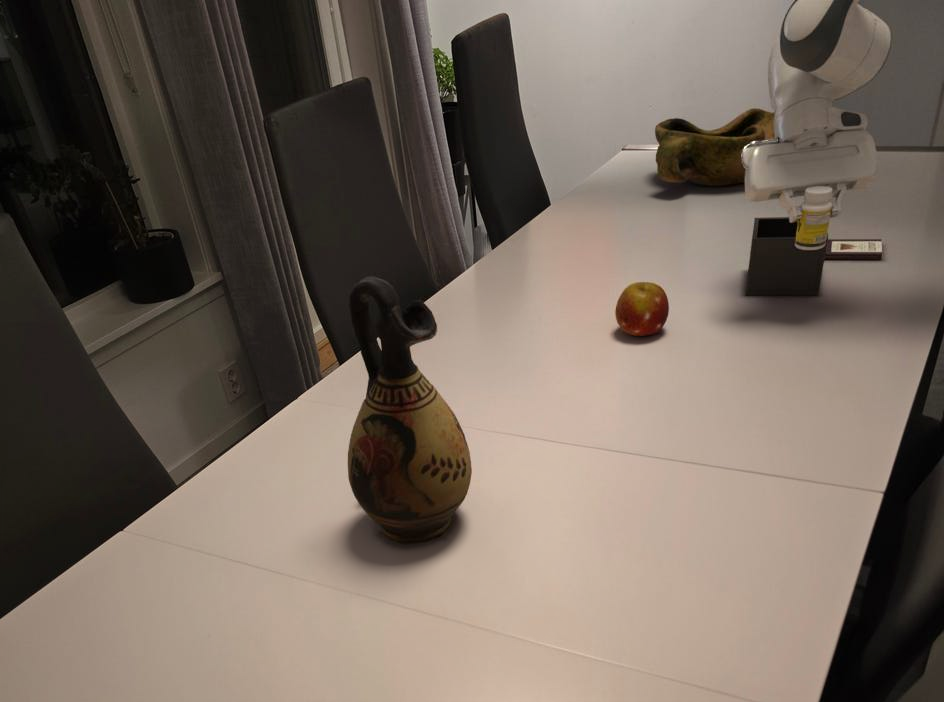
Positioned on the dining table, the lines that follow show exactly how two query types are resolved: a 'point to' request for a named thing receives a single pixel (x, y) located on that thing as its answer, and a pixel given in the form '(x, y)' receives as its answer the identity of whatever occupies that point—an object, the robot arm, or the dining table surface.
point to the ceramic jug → (403, 424)
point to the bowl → (709, 148)
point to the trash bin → (782, 260)
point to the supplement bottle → (814, 218)
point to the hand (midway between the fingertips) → (816, 218)
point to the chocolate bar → (854, 249)
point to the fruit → (642, 309)
